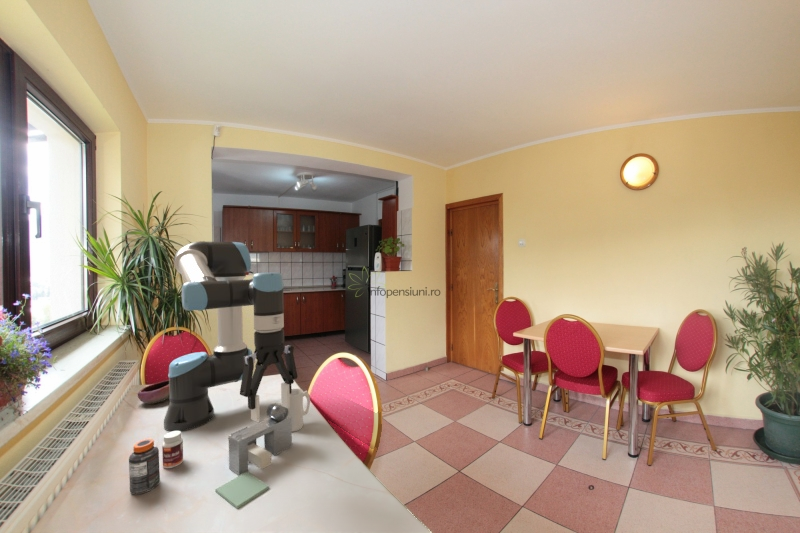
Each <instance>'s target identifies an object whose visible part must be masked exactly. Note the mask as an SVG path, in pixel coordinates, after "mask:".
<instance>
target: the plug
mask: <svg viewBox="0 0 800 533" xmlns="http://www.w3.org/2000/svg"><path fill="white" fill-rule="evenodd" d="M248 427H249V426H246V427H244V428H242V429H239V430H237V431H234V432H233V433H230V435H233V434H235V433H237V432H239V431H241V430H244V429H246V428H248ZM248 463H251V464H252V465H254V466H255V467H257V468H258V469H260V470H263V469H264V468H267V467H268V466H269V465H271V464H272V454H271V452H269V451H267V450H265V448H263V447H262V446H259V445H257V439H255V440H253V441H251V442H249V443H248Z"/></svg>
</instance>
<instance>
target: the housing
mask: <svg viewBox="0 0 800 533" xmlns="http://www.w3.org/2000/svg"><path fill="white" fill-rule="evenodd" d="M266 415H267V416H268V418H266V419H264V420H262V421H260V422H259V421H258V422H256V423H255V424H253V425H250V426H247V427H248V428H246V427H245V428H246V429H244V430H241V429H240V430H241V431H239V430H238V431H239V432H237V431H236V432H237V433H235V434H233V435H231V434H230V435H228V466H229V467H228V469H229V470H230V471H231V472H233V473H234V474H236V475H237V476H240V475H242V474H243V473H245V472H249V461H248V443H249V442H251V441H253V440H255V439H256V440H257V439H258V438H260V437H263V438H264V439H263V440H264V449H265V450H267V451H269V452H271V456H272V455H273V456H277V455H278V454H280V453H282V452H284V451H286V450H288V449H289V448H291V447H292V446H293V433H292V421H291V416H289V415H288V408H285V407H283V406H282V404H279V403H276V402H273V403H271V404H269V405H268V407H267V410H266Z"/></svg>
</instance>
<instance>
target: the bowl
mask: <svg viewBox="0 0 800 533" xmlns="http://www.w3.org/2000/svg"><path fill="white" fill-rule="evenodd" d="M137 397H138V400H139V401H141V402H142V403H144V404H151V403H152V404H156V403H157V402H158V403H160V402H164V401H166V400H167V399H168V398H169V399H170V397H169V379H166V380H163V381H159V382H155V383H152V384H149V385H147V386H145V387H143V388H142V389H140V390H139V391H138V393H137Z"/></svg>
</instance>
